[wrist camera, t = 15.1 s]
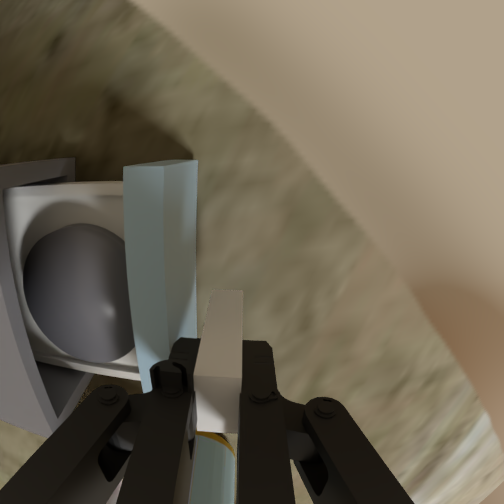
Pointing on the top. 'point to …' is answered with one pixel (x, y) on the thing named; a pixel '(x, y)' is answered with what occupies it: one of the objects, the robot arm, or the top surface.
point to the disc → (81, 292)
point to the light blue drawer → (136, 248)
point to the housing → (14, 333)
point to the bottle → (212, 470)
